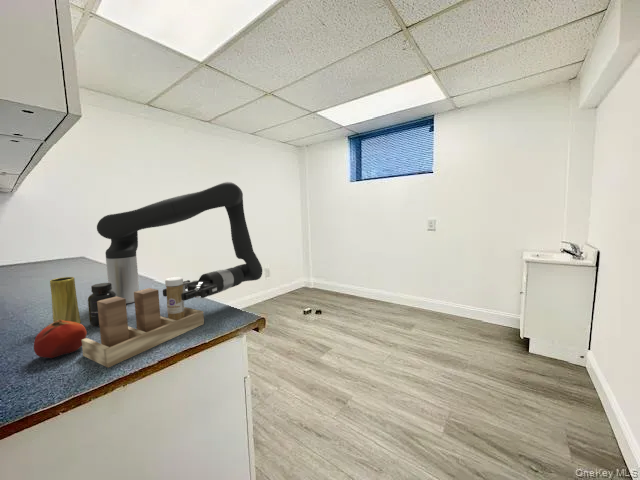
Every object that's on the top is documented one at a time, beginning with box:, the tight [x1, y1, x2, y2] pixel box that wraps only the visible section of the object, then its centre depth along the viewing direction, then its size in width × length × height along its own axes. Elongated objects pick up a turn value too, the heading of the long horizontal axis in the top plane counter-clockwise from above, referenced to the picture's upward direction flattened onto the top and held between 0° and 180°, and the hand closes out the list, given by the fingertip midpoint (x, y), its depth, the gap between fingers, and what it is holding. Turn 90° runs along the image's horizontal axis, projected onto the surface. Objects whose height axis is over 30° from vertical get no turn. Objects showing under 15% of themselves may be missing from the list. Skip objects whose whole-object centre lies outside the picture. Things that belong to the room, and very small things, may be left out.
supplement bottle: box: [87, 282, 116, 327], centre depth 80 cm, size 7×7×12 cm
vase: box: [49, 276, 82, 324], centre depth 79 cm, size 6×6×14 cm
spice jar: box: [164, 276, 185, 320], centre depth 78 cm, size 5×5×14 cm
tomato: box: [33, 320, 88, 359], centre depth 63 cm, size 9×9×8 cm
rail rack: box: [81, 287, 205, 368], centre depth 70 cm, size 11×25×13 cm, turn 154°
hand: (172, 295), depth 76 cm, fingers open, 8 cm apart
